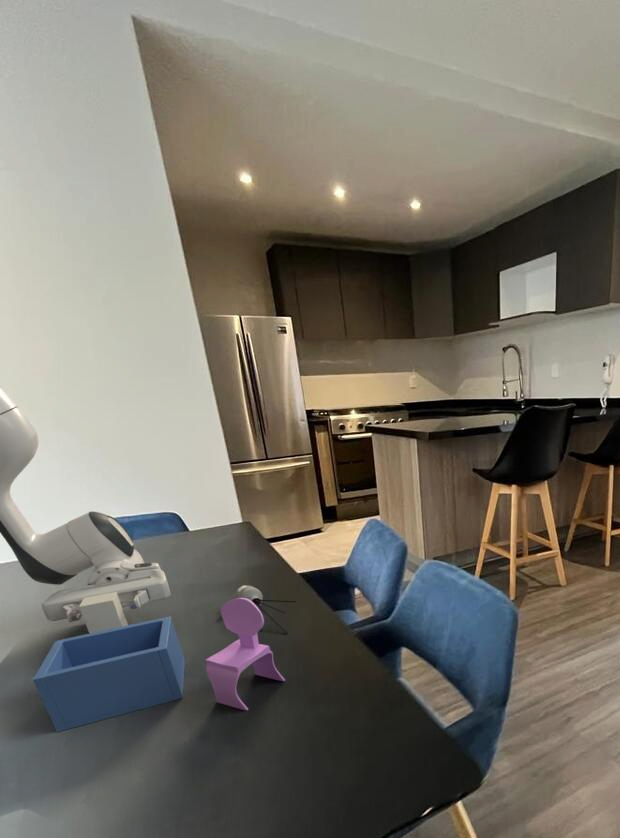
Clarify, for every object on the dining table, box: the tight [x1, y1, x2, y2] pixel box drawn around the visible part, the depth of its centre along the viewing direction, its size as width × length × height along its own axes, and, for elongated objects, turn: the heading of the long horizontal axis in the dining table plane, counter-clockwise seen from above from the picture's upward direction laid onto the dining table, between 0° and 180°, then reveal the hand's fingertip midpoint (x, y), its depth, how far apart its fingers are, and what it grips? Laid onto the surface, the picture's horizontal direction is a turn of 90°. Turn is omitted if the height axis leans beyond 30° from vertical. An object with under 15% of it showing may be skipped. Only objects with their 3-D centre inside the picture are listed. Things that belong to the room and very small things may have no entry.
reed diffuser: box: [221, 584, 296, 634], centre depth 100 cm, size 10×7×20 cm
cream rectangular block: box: [79, 592, 129, 634], centre depth 88 cm, size 5×4×12 cm
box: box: [32, 615, 186, 733], centre depth 77 cm, size 16×12×9 cm
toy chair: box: [205, 598, 286, 712], centre depth 74 cm, size 8×9×15 cm
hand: (103, 611), depth 88 cm, fingers open, 8 cm apart
